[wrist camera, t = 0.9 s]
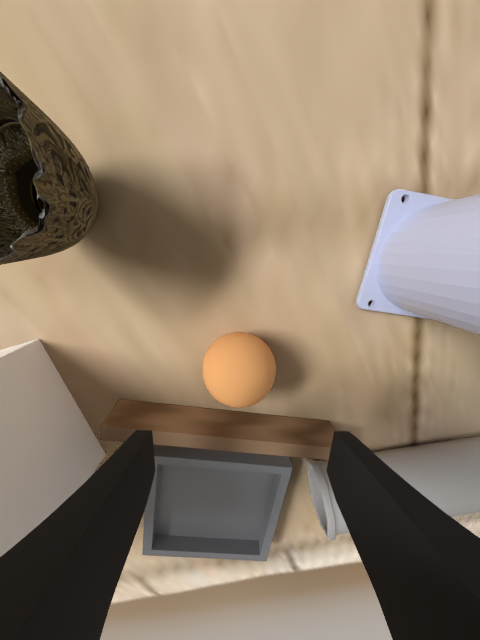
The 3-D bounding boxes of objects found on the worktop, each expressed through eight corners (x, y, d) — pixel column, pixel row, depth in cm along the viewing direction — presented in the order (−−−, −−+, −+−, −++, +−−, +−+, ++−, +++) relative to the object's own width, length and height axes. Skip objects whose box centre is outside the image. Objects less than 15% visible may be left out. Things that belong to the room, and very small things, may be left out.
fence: (329, 421, 20) (345, 448, 18) (325, 432, 21) (340, 461, 18) (119, 399, 19) (100, 425, 16) (119, 411, 19) (100, 439, 16)
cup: (34, 103, 13) (-239, -104, 6) (152, 180, 15) (65, 101, 7) (-4, 222, 15) (-254, 191, 7) (106, 282, 16) (-6, 310, 9)
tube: (646, 435, 17) (322, 485, 17) (660, 506, 17) (333, 558, 17) (551, 410, 23) (302, 448, 23) (561, 464, 23) (311, 503, 22)
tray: (287, 450, 21) (292, 467, 19) (263, 539, 24) (266, 561, 23) (154, 437, 20) (147, 455, 18) (148, 532, 23) (142, 554, 22)
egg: (275, 327, 18) (291, 356, 13) (263, 384, 19) (274, 428, 14) (210, 318, 17) (202, 344, 12) (203, 377, 19) (193, 420, 14)
